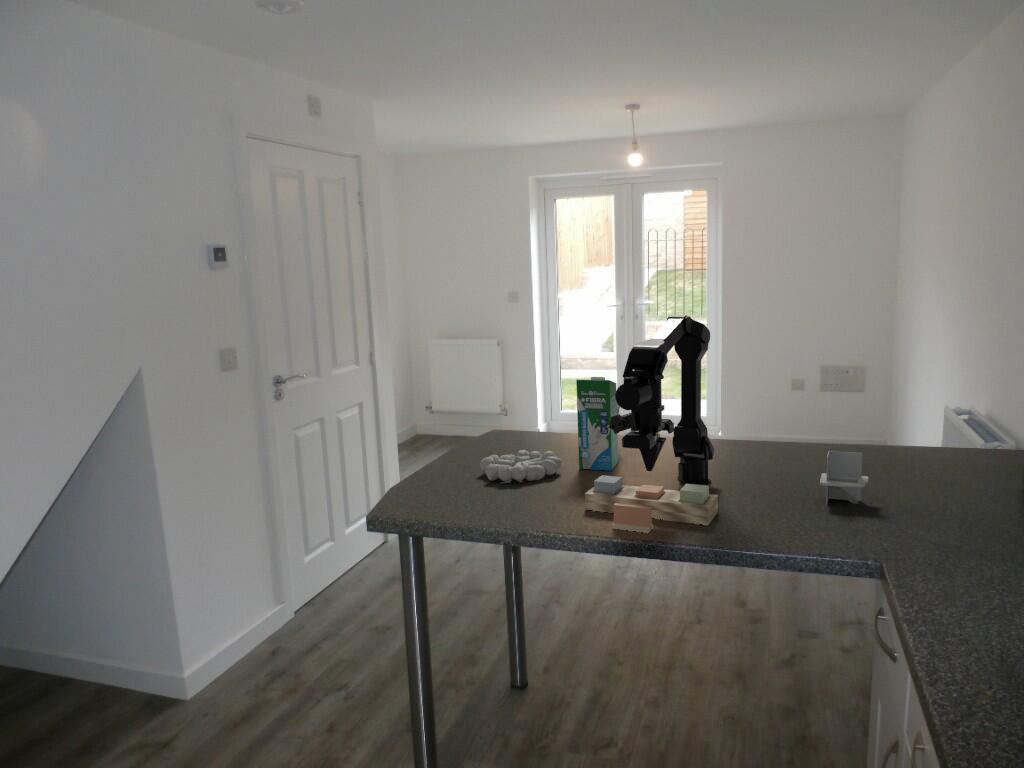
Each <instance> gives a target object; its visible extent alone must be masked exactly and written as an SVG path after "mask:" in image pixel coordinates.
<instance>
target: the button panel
mask: <svg viewBox="0 0 1024 768" xmlns="http://www.w3.org/2000/svg"><path fill="white" fill-rule="evenodd" d="M639 487H640V486H635V485H627V484H622V490H621V491H620V492H618V493H617V494H616V495H615V494H606V493H597V492H594V486H593V487H592V488H590V489H588V490H587V491H586V492H584V510H585V509H586V510H585V511H587V510H594V511H593V512H595V511H601V512H600V513H603V512H608V513H607V514H611V513H614V511H613V505H614V504H615V503H618V504H627V505H636V506H644V507H652V518H655V519H654V520H660V519H661V520H662V519H663V520H662V521H668V522H676V523H677V522H678V523H686V524H692V523H693V525H700V524H702V525H703V526H709V525H710V524H711V522H712V521H713V519H714V518H715V517H716V515H717V514H718V513H719V494H713V493H711V494H710V493H709V499H708V501H707V502H706V503H705V504H696V503H687V502H680V490H676V489H675V490H673V489H667V488H664V495H663V496H662V497H661V498H660V499H651V498H642V497H636V490H637V489H638V488H639Z"/></svg>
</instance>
